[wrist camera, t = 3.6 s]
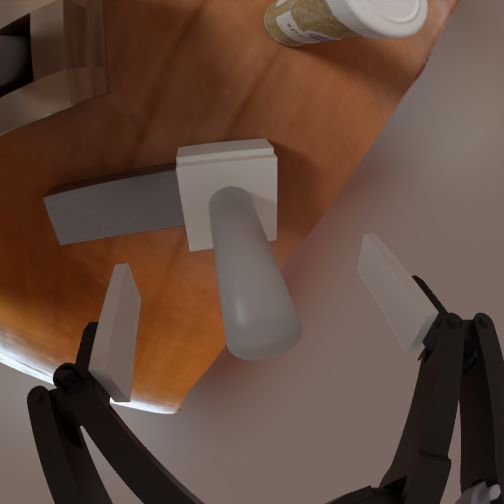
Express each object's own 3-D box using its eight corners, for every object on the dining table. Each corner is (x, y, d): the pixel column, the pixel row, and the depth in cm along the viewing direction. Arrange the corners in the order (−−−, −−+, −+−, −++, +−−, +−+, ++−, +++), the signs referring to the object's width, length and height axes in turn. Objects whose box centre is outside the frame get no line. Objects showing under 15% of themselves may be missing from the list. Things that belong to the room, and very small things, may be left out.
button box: (21, 123, 17) (-32, 152, 11) (11, 32, 12) (-45, 32, 6) (110, 94, 18) (71, 109, 12) (103, -7, 13) (64, -32, 7)
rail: (66, 234, 24) (60, 245, 23) (51, 188, 22) (42, 197, 20) (270, 204, 27) (275, 214, 25) (269, 152, 24) (275, 159, 22)
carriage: (190, 229, 26) (198, 392, 14) (178, 147, 22) (157, 280, 9) (266, 220, 27) (328, 368, 15) (264, 138, 23) (360, 251, 10)
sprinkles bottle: (268, 50, 19) (352, 36, 8) (257, 0, 16) (329, -62, 5) (322, 45, 19) (438, 44, 8) (313, -3, 16) (421, -42, 5)
